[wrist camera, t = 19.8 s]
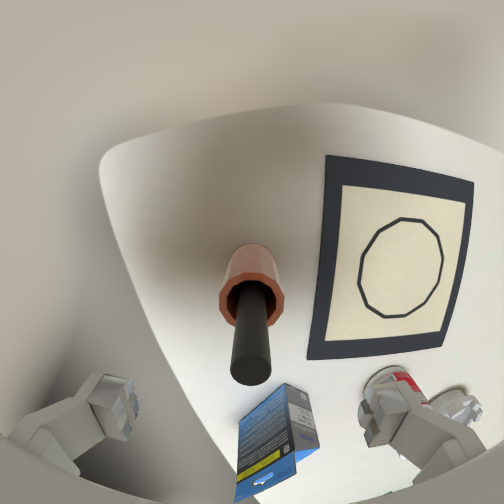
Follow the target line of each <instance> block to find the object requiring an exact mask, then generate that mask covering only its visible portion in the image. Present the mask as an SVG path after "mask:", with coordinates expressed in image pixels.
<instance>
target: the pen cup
mask: <svg viewBox="0 0 504 504" xmlns="http://www.w3.org/2000/svg"><path fill="white" fill-rule="evenodd" d="M245 280H259V281H261V282H262V283H264V293H265V303H266V314H267V325H268V327H269V326H271V325H273V324H274V323H275V322H276V321H277V319H278V318H279V317H280V315H281V314H282V313H283V308H284V293H283V289H282V285H281V282H280V278H279V274H278V270H277V267H276V263H275V260H274V258H273V256H272V254H271V253H270V251H269V250H268V249H266V248H265V247H263V246H261V245H258V244H246V245H243V246H241V247H239V248H238V249H237V250H236V251H235V252H234V253H233V255H232V256H231V259H230V260H229V263H228V267H227V270H226V273H225V276H224V280H223V283H222V286H221V290H220V293H219V309H220V312H221V313H222V315H223V316H224V318H225V319H226V321H227V322H228V323H229V324H231V325H232V326H234V327H235V325H236V317H237V309H238V301H239V293H240V285H241V282H243V281H245Z"/></svg>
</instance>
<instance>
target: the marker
mask: <svg viewBox="0 0 504 504" xmlns="http://www.w3.org/2000/svg"><path fill="white" fill-rule="evenodd" d="M230 372H231V375H232V377H233V378H234V379H235V380H236V381H237V382H238V383H240V384H243V385H247V386H255V385H259V384H262V383H264V382H265V381H266V380H267V379H268V378H269V377H270V375H271V358H270V347H269V336H268V325H267V314H266V303H265V293H264V283H262V282H261V281H259V280H245V281H243V282H241V285H240V293H239V301H238V309H237V317H236V325H235V333H234V342H233V350H232V358H231V366H230Z"/></svg>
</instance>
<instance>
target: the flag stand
mask: <svg viewBox="0 0 504 504" xmlns="http://www.w3.org/2000/svg"><path fill="white" fill-rule="evenodd" d="M430 405H431V406H432V408H433V409H434V411H436V412H438V413H440V414H442V415H444V416H446V417H448V418H450V419H453V420H455V421H457V422H459V423H461V424H463V425H465V426H467V427H469V425H470V424H471V423H472V421H474V422H476V421H478V420H479V419H480V417H481V415H482V412H483V411H482V410H481V409H480V407H481V406H482V405H481V404H480V403H479V401H478V400H477V399H476V398H475V397H474V396H472V395H468V396H465V395H464V393H463V392H462V391H460V390H457V389H456V390H451V391H448V392H446V393H444V394H442V395H440V396H438V397H437V398H435V399H434V400H433V401H431V402H430Z"/></svg>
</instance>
